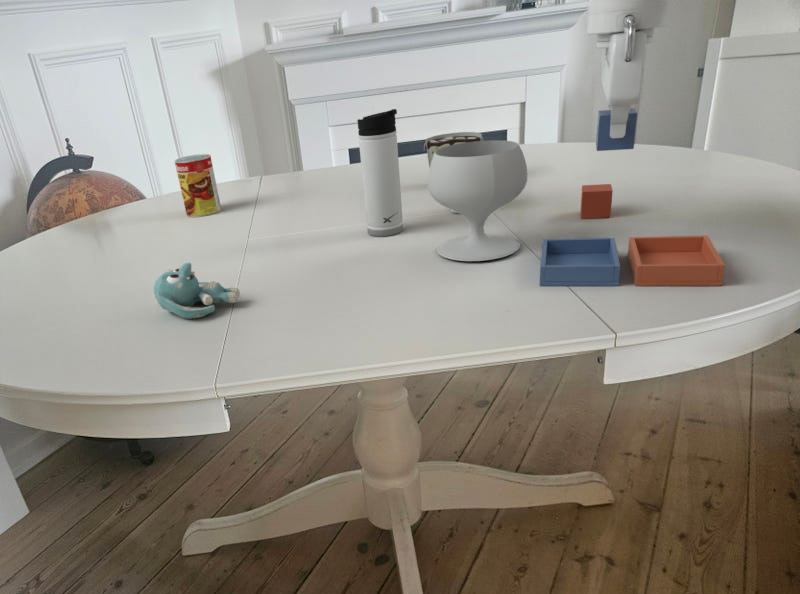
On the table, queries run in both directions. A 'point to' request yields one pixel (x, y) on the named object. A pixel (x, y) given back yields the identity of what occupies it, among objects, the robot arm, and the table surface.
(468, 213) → the chalice
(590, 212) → the rust block
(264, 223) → the table surface
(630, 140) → the slate block
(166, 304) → the stuffed animal
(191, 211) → the canned food
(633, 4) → the robot arm
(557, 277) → the slate tray
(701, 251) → the rust tray
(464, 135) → the food container
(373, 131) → the travel mug
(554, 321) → the table surface
